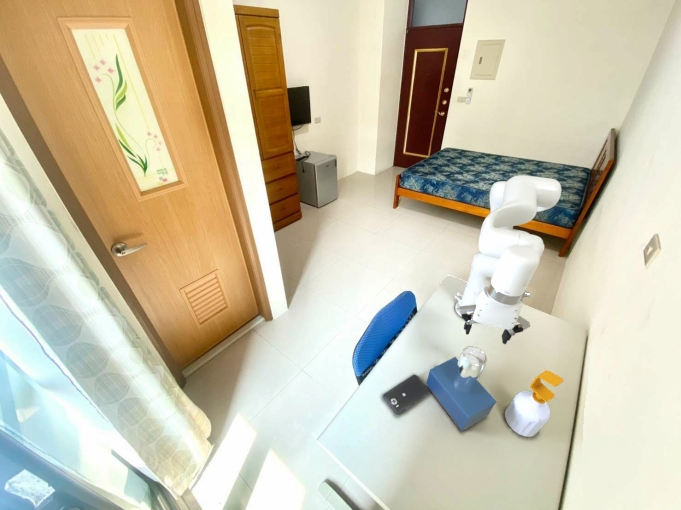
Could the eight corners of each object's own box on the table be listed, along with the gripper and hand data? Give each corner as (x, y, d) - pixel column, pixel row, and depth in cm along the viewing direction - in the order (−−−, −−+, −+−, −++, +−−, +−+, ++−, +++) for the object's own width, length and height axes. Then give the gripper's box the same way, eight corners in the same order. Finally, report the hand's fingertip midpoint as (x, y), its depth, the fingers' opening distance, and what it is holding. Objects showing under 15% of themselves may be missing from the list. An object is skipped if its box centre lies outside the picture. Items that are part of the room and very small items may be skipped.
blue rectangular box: (424, 385, 98) (430, 369, 92) (448, 373, 102) (455, 356, 96) (461, 433, 86) (469, 417, 80) (486, 417, 89) (496, 401, 84)
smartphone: (382, 396, 95) (382, 394, 95) (414, 374, 101) (415, 373, 101) (396, 416, 90) (397, 414, 89) (430, 392, 96) (430, 390, 96)
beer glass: (448, 388, 87) (460, 359, 78) (452, 370, 92) (463, 341, 83) (472, 399, 84) (487, 370, 76) (475, 379, 89) (489, 350, 81)
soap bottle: (524, 443, 83) (561, 400, 69) (498, 415, 90) (527, 371, 76) (543, 428, 87) (582, 384, 73) (516, 402, 93) (547, 357, 79)
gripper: (541, 289, 70) (516, 333, 80) (467, 275, 75) (453, 318, 85) (547, 310, 64) (520, 355, 74) (468, 293, 69) (452, 337, 79)
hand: (484, 335), depth 80 cm, fingers open, 9 cm apart
